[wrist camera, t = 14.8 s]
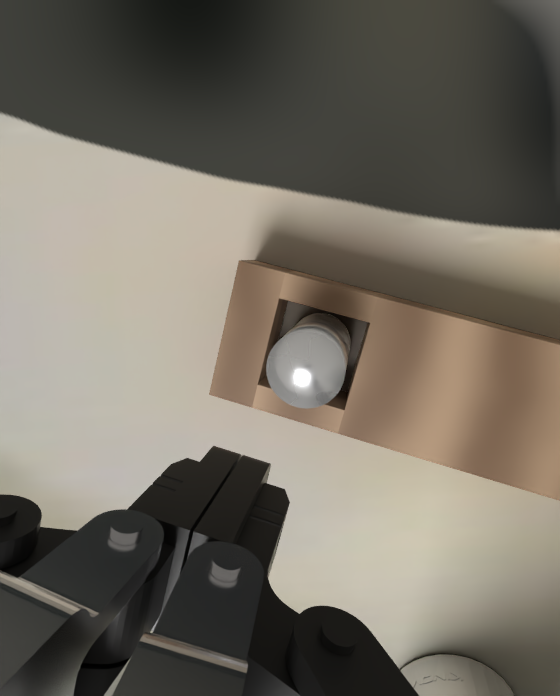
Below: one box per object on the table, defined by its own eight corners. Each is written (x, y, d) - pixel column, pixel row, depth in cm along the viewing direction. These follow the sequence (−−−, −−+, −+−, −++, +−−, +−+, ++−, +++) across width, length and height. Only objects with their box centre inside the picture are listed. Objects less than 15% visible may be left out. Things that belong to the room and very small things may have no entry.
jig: (652, 364, 28) (697, 381, 25) (598, 488, 30) (632, 522, 26) (254, 260, 32) (239, 260, 28) (227, 378, 33) (209, 394, 30)
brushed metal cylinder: (360, 358, 32) (358, 391, 24) (305, 381, 32) (286, 419, 25) (335, 303, 31) (324, 318, 23) (280, 327, 32) (253, 349, 24)
